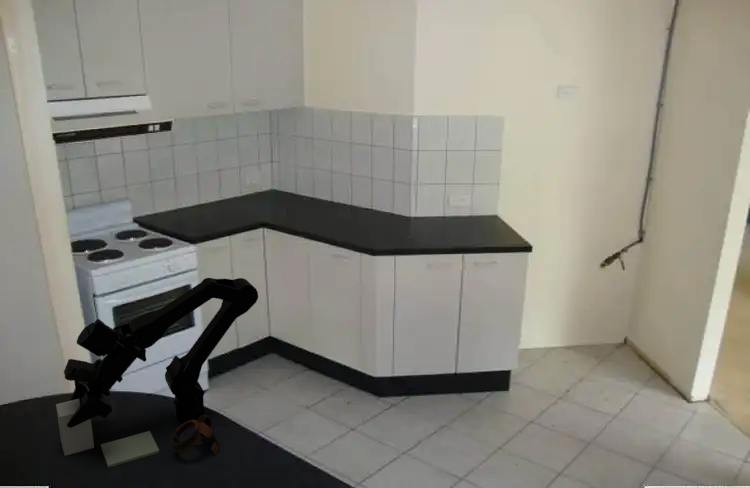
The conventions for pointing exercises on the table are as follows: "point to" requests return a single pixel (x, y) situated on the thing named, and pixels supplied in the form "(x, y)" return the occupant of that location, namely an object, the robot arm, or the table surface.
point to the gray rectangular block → (73, 429)
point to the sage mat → (129, 449)
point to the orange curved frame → (195, 435)
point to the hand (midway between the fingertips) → (67, 419)
